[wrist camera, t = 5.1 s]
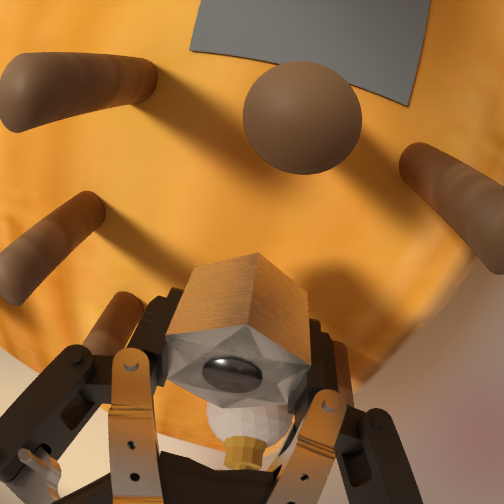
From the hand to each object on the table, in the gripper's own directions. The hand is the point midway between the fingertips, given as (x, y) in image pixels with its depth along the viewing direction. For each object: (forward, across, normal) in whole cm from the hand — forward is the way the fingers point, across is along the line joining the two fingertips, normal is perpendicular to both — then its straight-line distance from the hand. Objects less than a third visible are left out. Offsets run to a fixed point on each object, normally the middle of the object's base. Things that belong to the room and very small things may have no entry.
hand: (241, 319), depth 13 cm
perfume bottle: (+7, -3, +16) cm, 17 cm away
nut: (+1, 0, 0) cm, 1 cm away
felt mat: (+7, 0, -16) cm, 17 cm away
